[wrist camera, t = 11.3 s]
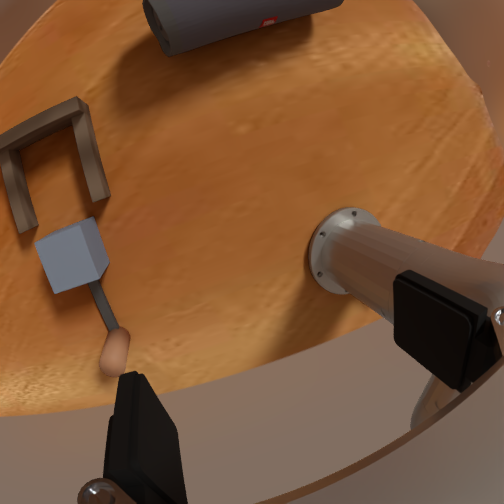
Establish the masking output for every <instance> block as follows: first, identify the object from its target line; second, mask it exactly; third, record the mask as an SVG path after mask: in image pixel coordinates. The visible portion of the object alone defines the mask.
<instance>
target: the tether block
mask: <svg viewBox="0 0 504 504" xmlns="http://www.w3.org/2000/svg"><path fill="white" fill-rule="evenodd" d="M35 246H36V249H37V252H38V254H39V257H40V260H41V262H42V265H43V267H44V270H45V272H46V275H47V277H48V280H49V282H50V284H51V287H52V289H53V291H54V294H57V293H59V292H62V291H65V290H68V289H71V288H74V287H77V286H80V285H83V284H86V283H88V285H89V288H90V290H91V292H92V295H93V297H94V299H95V301H96V304H97V306H98V308H99V310H100V312H101V315H102V317H103V319H104V321H105V323H106V325H107V327H108V329H109V332H108V335H107V338H106V341H105V345H104V348H103V351H102V355H101V358H100V362H99V367H100V369H101V371H102V372H103V373H104V374H106V375H107V376H110V377H119V376H120V375H121V374H124V372H125V368H126V362H127V356H128V350H129V344H130V334H129V332H128V331H127V330H126V329H125V328H123V327H119V325H118V323H117V321H116V318H115V316H114V314H113V312H112V310H111V307H110V305H109V303H108V301H107V298H106V296H105V294H104V291H103V289H102V287H101V284H100V282H99V279H100V277H101V276H102V274H103V273H104V271H105V269H106V268H107V266H108V264H109V263H110V261H109V259H108V256H107V253H106V251H105V248H104V245H103V242H102V239H101V236H100V233H99V230H98V227H97V224H96V221H95V218H94V216H93V217H90V218H87V219H85V220H82V221H79V222H77V223H74V224H72V225H69V226H67V227H64V228H62V229H59V230H57V231H54V232H52V233H50V234H49V235H47V236H45V237H44V238H42V239H40V240H39V241H37V242H35Z"/></svg>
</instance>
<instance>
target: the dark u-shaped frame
mask: <svg viewBox="0 0 504 504" xmlns="http://www.w3.org/2000/svg"><path fill="white" fill-rule="evenodd" d="M71 125H73V129H74V133H75V138H76V142H77V147H78V151H79V155H80V159H81V163H82V167H83V170H84V174H85V178H86V181H87V185H88V188H89V192H90V195H91V198H92V202H96V201H98V200H101V199H104V198H106V197H109V196H111V194H110V191H109V187H108V184H107V180H106V177H105V173H104V169H103V166H102V162H101V158H100V154H99V150H98V146H97V142H96V138H95V134H94V130H93V125H92V121H91V116H90V111H89V106H88V105H87V104H86V103H85V102H83V101H82V100H81V99H79V98H78V97H77V96H76V97H73V98H71V99H69V100H67V101H64V102H62V103H60V104H58V105H56V106H53V107H51V108H49V109H47V110H45V111H43V112H41V113H39V114H37V115H35V116H33V117H31V118H29V119H28V120H26V121H24V122H22V123H20V124H18V125H17V126H15V127H13V128H11V129H10V130H8V131H6V132H4V133H3V134H1V135H0V164H1V169H2V174H3V178H4V182H5V186H6V190H7V194H8V198H9V202H10V205H11V209H12V212H13V216H14V219H15V222H16V225H17V228H18V231H19V234H20V233H23V232H25V231H27V230H29V229H31V228H33V227H35V226H37V225H39V224H38V221H37V218H36V215H35V212H34V208H33V205H32V202H31V198H30V194H29V191H28V187H27V183H26V179H25V175H24V171H23V167H22V162H21V158H20V153H19V150H21V149H23V148H25V147H27V146H29V145H31V144H33V143H34V142H36V141H38V140H40V139H42V138H45V137H47V136H49V135H51V134H53V133H55V132H57V131H59V130H62V129H64V128H66V127H68V126H71Z"/></svg>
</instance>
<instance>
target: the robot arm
mask: <svg viewBox="0 0 504 504" xmlns="http://www.w3.org/2000/svg"><path fill="white" fill-rule="evenodd" d="M320 233H321V235H320ZM308 260H309V267H310V270H311V273H312V275H313V277H314V279H315V280H316V282H317V283H318V284H319V285H320V286H321V287H323V288H324V289H325V290H327V291H329V292H331V293H335V294H349V293H350V294H352V295H353V296H354V297H356V298H357V299H359V300H360V301H361V302H363V303H364V304H366V305H367V306H368V307H370V308H371V309H372V310H374V311H375V312H377V313H378V314H379V315H381V316H382V317H384V318H385V319H386V320H388V321H389V322H390V323H392V324H393V325H394V341H395V343H396V344H397V345H398V346H399V347H400V348H401V349H403V350H404V351H405V352H406V353H408V354H409V355H410V356H411V357H413V358H414V359H415V360H416V361H418V362H419V363H420V364H421V365H423V366H424V367H425V368H426V369H427V370H429V371H430V372H431V373H432V376H431V378H430V380H429V381H428V383H427V385H426V387H425V389H424V391H423V393H422V395H421V397H420V398H419V400H418V402H417V404H416V406H415V408H414V411H413V414H412V417H411V424H410V427H411V430H410V431H409V432H407V433H406V434H404V435H403V436H401V437H400V438H398V439H396V440H395V441H393V442H391V443H390V444H388V445H386V446H385V447H383V448H381V449H380V450H378V451H376V452H374V453H372V454H371V455H369V456H367V457H365V458H363V459H361V460H359V461H358V462H356V463H354V464H352V465H350V466H348V467H346V468H344V469H342V470H340V471H337V472H335V473H333V474H331V475H329V476H327V477H324V478H322V479H320V480H318V481H315V482H313V483H311V484H308V485H306V486H303V487H301V488H298V489H296V490H293V491H290V492H288V493H285V494H282V495H279V496H277V497H274V498H271V499H268V500H265V501H261V502H259V503H255V504H504V264H500V263H495V262H490V261H485V260H481V259H477V258H473V257H470V256H467V255H464V254H461V253H457V252H454V251H451V250H448V249H445V248H443V247H440V246H437V245H434V244H431V243H428V242H425V241H423V240H420V239H417V238H414V237H411V236H408V235H405V234H402V233H399V232H396V231H393V230H390V229H387V228H384V227H381V225H380V223H379V222H378V220H377V219H376V218H375V217H374V216H373V215H372V214H371V213H369V212H368V211H366V210H363V209H360V208H355V207H346V208H342V209H338V210H336V211H335V212H333V213H331V214H330V215H328V216H327V217H326V218H325V219H324V220H323V221H322V222H321V223H320V224H319V226H318V227H317V229H316V230H315V232H314V234H313V237H312V239H311V242H310V247H309V255H308ZM317 273H318V274H317ZM77 502H78V504H188V502H187V497H186V490H185V484H184V477H183V470H182V463H181V455H180V448H179V439H178V432H177V429H176V426H175V424H174V423H173V421H172V419H171V418H170V417H169V415H168V413H167V412H166V410H165V409H164V407H163V405H162V404H161V402H160V401H159V399H158V398H157V396H156V394H155V392H154V391H153V389H152V387H151V386H150V384H149V382H148V380H147V379H146V377H145V375H144V374H138V372H137V371H132V372H129V373H125V374H121V375H120V376H119V381H118V388H117V394H116V401H115V408H114V415H112V416H111V417H110V420H109V425H108V433H107V441H106V450H105V460H104V471H103V478H97V479H93V480H91V481H89V482H87V483H86V484H85V485H84V486H83V487H82V488H81V490H80V492H79V493H78V498H77Z"/></svg>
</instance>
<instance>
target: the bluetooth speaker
mask: <svg viewBox="0 0 504 504" xmlns="http://www.w3.org/2000/svg"><path fill="white" fill-rule="evenodd" d="M343 1H344V0H143V3H142V4H143V9H144V12H145V16H146V18H147V21H148V24H149V26H150V28H151V30H152V32H153V33H154V34H155V36H156V38H157V39H158V41H159V43H160V46H161V48H162V50H163V52H164V53H165V54H166V55H167V56H168V57H170V56H173V55H177V54H180V53H183V52H186V51H189V50H192V49H195V48H198V47H201V46H204V45H207V44H210V43H213V42H216V41H219V40H222V39H225V38H228V37H231V36H234V35H238V34H241V33H244V32H248V31H251V30H254V29H258V28H261V27H265V26H269V25H272V24H276V23H279V22H283V21H287V20H291V19H294V18H298V17H302V16H306V15H310V14H314V13H318V12H322V11H326V10H329V9H333V8H336V7H338V6H340V5H341V4H342V3H343Z"/></svg>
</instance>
